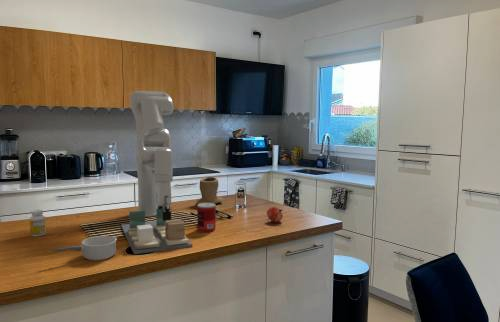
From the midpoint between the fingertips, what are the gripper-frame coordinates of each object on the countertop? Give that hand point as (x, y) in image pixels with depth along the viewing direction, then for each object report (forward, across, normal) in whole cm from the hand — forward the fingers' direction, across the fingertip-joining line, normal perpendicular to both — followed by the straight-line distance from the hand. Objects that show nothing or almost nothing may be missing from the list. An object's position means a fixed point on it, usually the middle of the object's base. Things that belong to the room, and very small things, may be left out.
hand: (164, 218), depth 165 cm
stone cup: (+5, -41, +35) cm, 54 cm away
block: (+3, +17, -11) cm, 21 cm away
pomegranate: (+6, +5, +50) cm, 51 cm away
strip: (+4, +11, 0) cm, 12 cm away
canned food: (+6, +5, +17) cm, 19 cm away
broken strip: (+4, +11, -11) cm, 16 cm away
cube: (+3, +18, 0) cm, 19 cm away
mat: (+6, +6, -6) cm, 10 cm away
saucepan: (+6, +22, -31) cm, 39 cm away
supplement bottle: (+5, -14, -48) cm, 50 cm away
